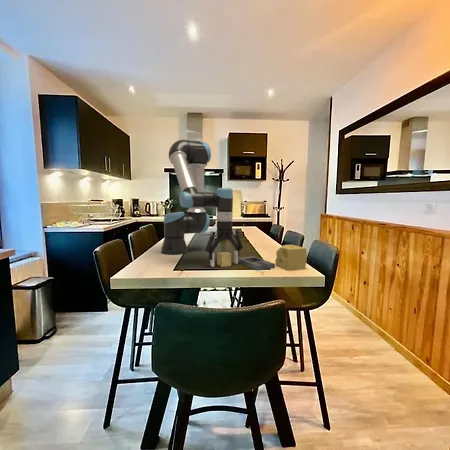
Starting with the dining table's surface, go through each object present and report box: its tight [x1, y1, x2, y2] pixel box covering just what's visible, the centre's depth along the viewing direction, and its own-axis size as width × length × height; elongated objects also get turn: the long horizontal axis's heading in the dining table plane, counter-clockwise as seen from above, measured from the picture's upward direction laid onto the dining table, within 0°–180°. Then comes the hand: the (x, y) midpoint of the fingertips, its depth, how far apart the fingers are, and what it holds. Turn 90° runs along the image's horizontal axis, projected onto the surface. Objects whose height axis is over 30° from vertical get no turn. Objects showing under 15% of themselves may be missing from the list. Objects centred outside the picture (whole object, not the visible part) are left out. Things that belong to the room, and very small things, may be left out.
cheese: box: [274, 244, 308, 271], centre depth 132 cm, size 10×11×10 cm
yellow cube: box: [216, 251, 232, 268], centre depth 135 cm, size 5×5×6 cm
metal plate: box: [238, 255, 276, 271], centre depth 136 cm, size 18×10×2 cm, turn 28°
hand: (224, 264), depth 135 cm, fingers open, 12 cm apart
